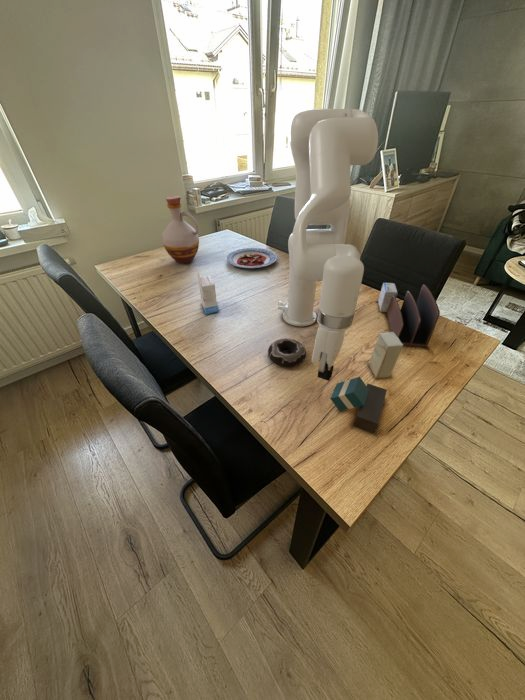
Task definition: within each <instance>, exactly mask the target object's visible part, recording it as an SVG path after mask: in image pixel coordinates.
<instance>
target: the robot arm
mask: <svg viewBox="0 0 525 700" xmlns="http://www.w3.org/2000/svg"><path fill="white" fill-rule="evenodd" d="M289 144H290V150H291V155H292V159H293V162H294V167H295V188H294V219H295V222H294V226H293V228H292V232H291V234H290V235H289V237H288V241H287V249H288V257H289V259H288V261H289V268H288V269H289V271H288V272H289V273H288V288H287V290H288V291H287V301H286V302H284V301H282V300H278V302H277V306H278V307H277V309H278V310H281V311H283V312H282V319H283V321H284V322H285V323H287V324H288V325H291V326H293V327H308V326H311V325H313V324H314V323H315V322H317V324H318V328H317V331H316V336H315V340H314V345H313V348H312V349H313V350H312V355H311V356H312V357H311V363H313V364H317V363H318V361H319V364H318V370H317V378H318V379H322V380H325V381H328V382H330V381H331V378H332V376H333V372H334V364H335V361H336V359H337V358H338V356H339V353H340V351H341V349H342V347H343V344H344V340H345V335H346V331H347V330H348V329H350V328H351V327H352V326H353V322H354V318H355V312H356V309H357V302H358V299H359V295H360V291H361V286H362V283H363V277H364V274H365V273H364V272H365V265H364V263H363V262H362V261H361V254H360V252H359V250H358V247H356V246H355V245H354V244H350V243H346V238H347V231H348V226H349V218H350V210H351V201H350V197H351V194H352V185H351V184H352V182H351V181H352V180H351V166H365V165H368V164H369V163H371V162H372V161H373V159H374V157H375V155H376V154H377V150H378V145H379V131H378V126H377V123H376V121H375V120H374V118H373V117H372V116H370V115H369V114H368V113H366V112H365V111H363V110H361V109H358V108H309V109H304V110H300V111H298V112H296V113H295V114H294V115H293V116H292V117H291V120H290V124H289ZM308 226H330V228H308ZM318 281H319V282H320V281H321V288H320V294H319V302H318V309H317V313H316V311H315V310H314V308H315V299H316V293H317V292H316V291H317V284H318Z"/></svg>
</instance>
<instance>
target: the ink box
mask: <svg viewBox="0 0 525 700" xmlns="http://www.w3.org/2000/svg"><path fill="white" fill-rule="evenodd" d="M196 273H197V280H198V287H199V288H198V289H199V293H200V300H201V301H200V302H201V305H202V308H203V310H204V313H205V315H209V314H214V313H218V312H219V311H218V303H217V302H218V301H217V291H216V284H215V282H214V280H213V277H211V275H206V276H201V274H200V273H199V271H198V270H196Z"/></svg>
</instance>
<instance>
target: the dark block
mask: <svg viewBox="0 0 525 700" xmlns="http://www.w3.org/2000/svg"><path fill="white" fill-rule="evenodd" d="M366 386H367V387H368V389H369V391H368V395H367V398H366V401H365V404H364V406H361V407H358V410H357V413H356V416H355V419H354V422H353V424H352V427H355V428H358V429H360V430H363V431H365V432H368V433H370V434H373V435H375V433H376V430H377V428H378V427H379V423H380V419H381V414H382V410H383V407H384V403H385V399H386V396H387V391H388V389H386V388H383V387H380V386H377V385H374V384H371V383H368V382H367V383H366Z"/></svg>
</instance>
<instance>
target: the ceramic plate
mask: <svg viewBox="0 0 525 700" xmlns="http://www.w3.org/2000/svg"><path fill="white" fill-rule="evenodd" d="M277 259H278V255H277V254H276V253H275V252H273V251H271V250H269V249H265V248H260V247H245V248H239V249H237V250H236V249H235V250H234V251H231V252H229V253H228V255H227V256H226V261H227V262H228V264H230V265H232V266H234V267H237V268H242V269H257V268H264V267H268V266H270V265H272V264H274V263H275V262H276V261H277Z"/></svg>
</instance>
